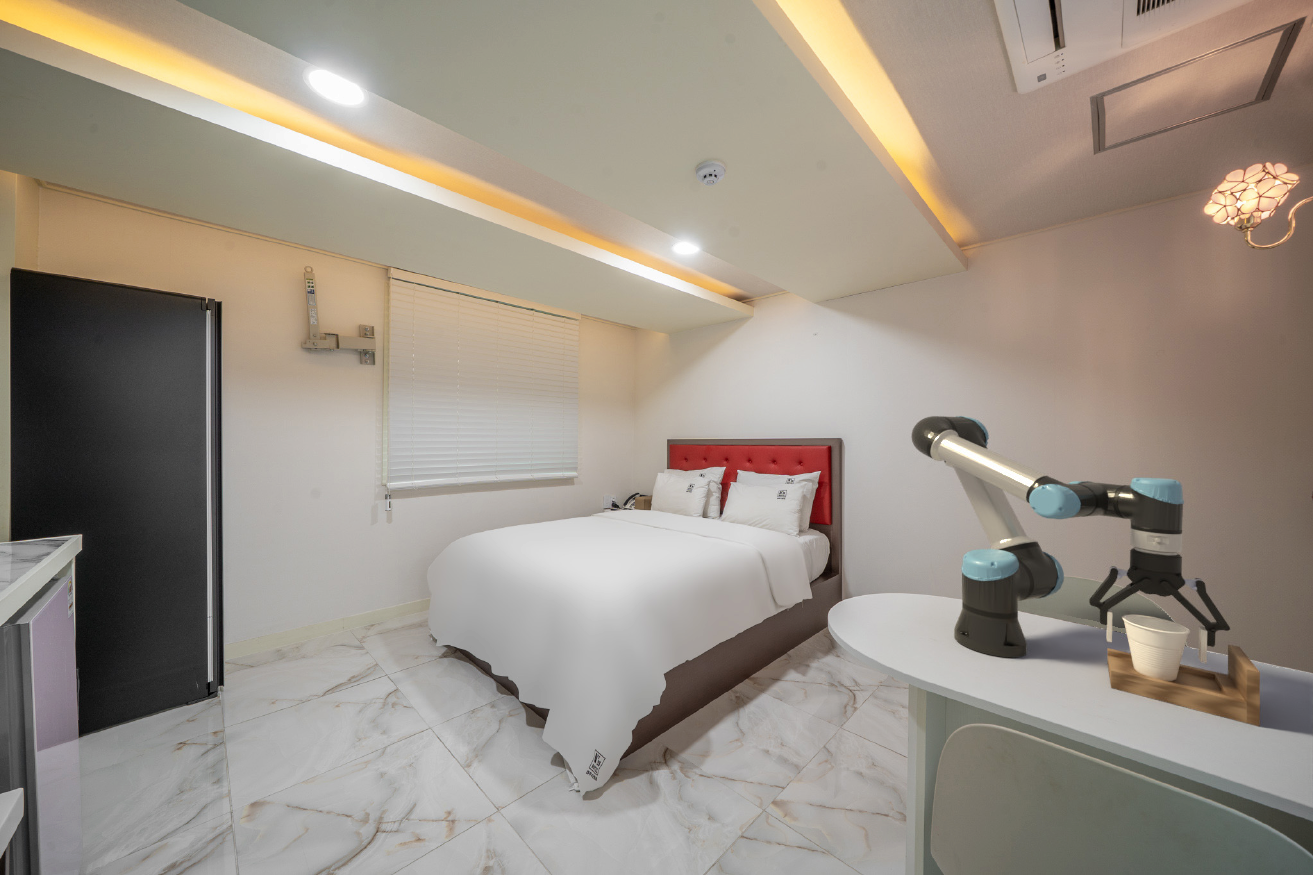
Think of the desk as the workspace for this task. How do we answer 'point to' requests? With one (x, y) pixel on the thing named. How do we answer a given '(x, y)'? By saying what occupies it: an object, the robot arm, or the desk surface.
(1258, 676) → the bracket shelf
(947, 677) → the desk surface
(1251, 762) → the desk surface
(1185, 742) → the desk surface
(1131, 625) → the cup
